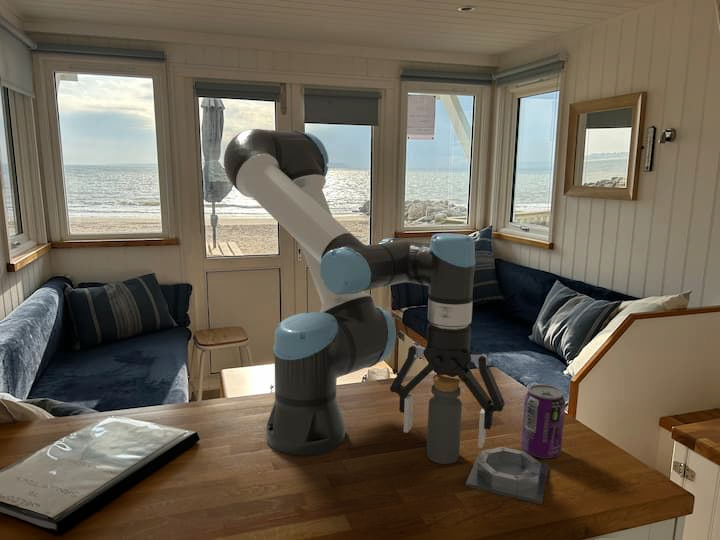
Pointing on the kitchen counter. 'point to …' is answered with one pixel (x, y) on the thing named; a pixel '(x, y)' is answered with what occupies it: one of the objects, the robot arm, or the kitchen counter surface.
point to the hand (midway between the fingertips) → (443, 436)
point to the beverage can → (543, 421)
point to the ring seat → (509, 474)
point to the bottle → (444, 420)
